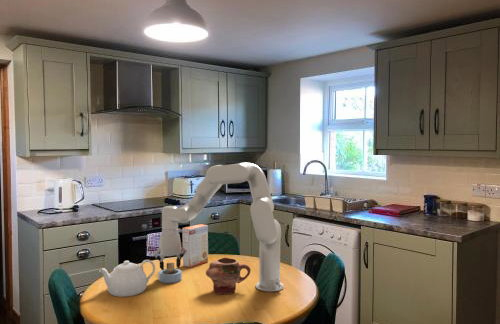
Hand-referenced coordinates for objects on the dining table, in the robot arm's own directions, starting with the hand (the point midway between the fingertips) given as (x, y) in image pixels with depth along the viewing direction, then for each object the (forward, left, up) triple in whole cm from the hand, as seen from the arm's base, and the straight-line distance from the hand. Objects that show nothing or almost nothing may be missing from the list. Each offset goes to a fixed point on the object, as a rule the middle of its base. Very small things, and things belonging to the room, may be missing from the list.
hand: (170, 268), depth 204 cm
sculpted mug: (-26, -19, -6) cm, 33 cm away
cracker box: (+20, -20, -6) cm, 29 cm away
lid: (0, 0, -5) cm, 5 cm away
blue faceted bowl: (0, 0, -6) cm, 6 cm away
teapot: (-6, +21, -6) cm, 23 cm away
